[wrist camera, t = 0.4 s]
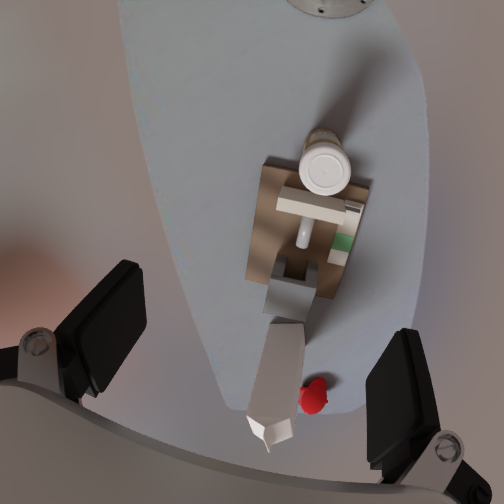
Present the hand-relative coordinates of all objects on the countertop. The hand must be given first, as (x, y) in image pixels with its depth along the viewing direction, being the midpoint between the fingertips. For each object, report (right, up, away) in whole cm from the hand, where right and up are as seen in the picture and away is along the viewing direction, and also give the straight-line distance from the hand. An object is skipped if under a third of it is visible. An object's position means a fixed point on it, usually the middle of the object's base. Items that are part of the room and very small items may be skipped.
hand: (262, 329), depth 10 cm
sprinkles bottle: (+9, +16, +26) cm, 32 cm away
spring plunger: (+8, +7, +29) cm, 31 cm away
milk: (+6, -12, +43) cm, 45 cm away
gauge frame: (+7, +5, +32) cm, 33 cm away
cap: (+13, -26, +49) cm, 57 cm away
